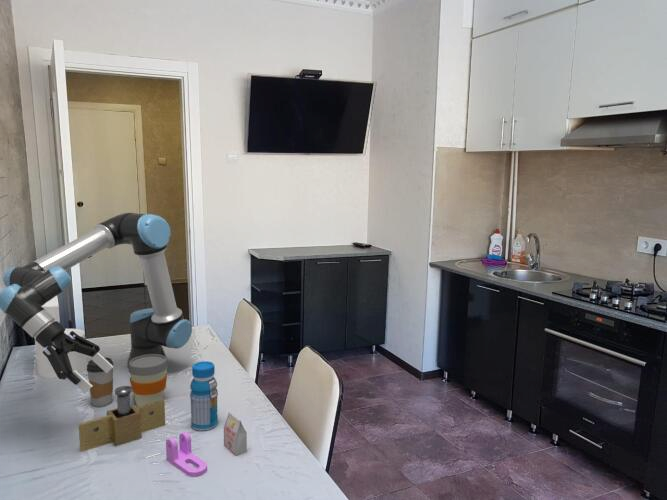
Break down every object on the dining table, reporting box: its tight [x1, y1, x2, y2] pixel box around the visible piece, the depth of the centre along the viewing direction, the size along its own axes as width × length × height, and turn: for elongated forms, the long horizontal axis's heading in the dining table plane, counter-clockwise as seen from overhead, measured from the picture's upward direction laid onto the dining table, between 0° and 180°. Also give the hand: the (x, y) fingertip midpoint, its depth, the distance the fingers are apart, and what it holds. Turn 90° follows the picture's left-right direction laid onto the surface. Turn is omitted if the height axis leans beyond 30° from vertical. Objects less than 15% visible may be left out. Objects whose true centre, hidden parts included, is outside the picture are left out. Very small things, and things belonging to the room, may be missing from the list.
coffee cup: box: [86, 356, 115, 408], centre depth 169 cm, size 8×8×15 cm
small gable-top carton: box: [223, 412, 248, 457], centre depth 143 cm, size 4×7×10 cm, turn 40°
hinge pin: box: [114, 385, 133, 418], centre depth 149 cm, size 5×5×15 cm
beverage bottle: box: [189, 360, 219, 431], centre depth 156 cm, size 8×8×20 cm
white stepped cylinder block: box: [34, 295, 88, 378], centre depth 196 cm, size 17×17×28 cm
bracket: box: [165, 431, 208, 478], centre depth 135 cm, size 13×6×7 cm, turn 49°
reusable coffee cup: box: [128, 354, 168, 407], centre depth 171 cm, size 13×13×15 cm
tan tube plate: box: [78, 399, 166, 452], centre depth 149 cm, size 24×7×8 cm, turn 130°
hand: (100, 379), depth 146 cm, fingers open, 13 cm apart
